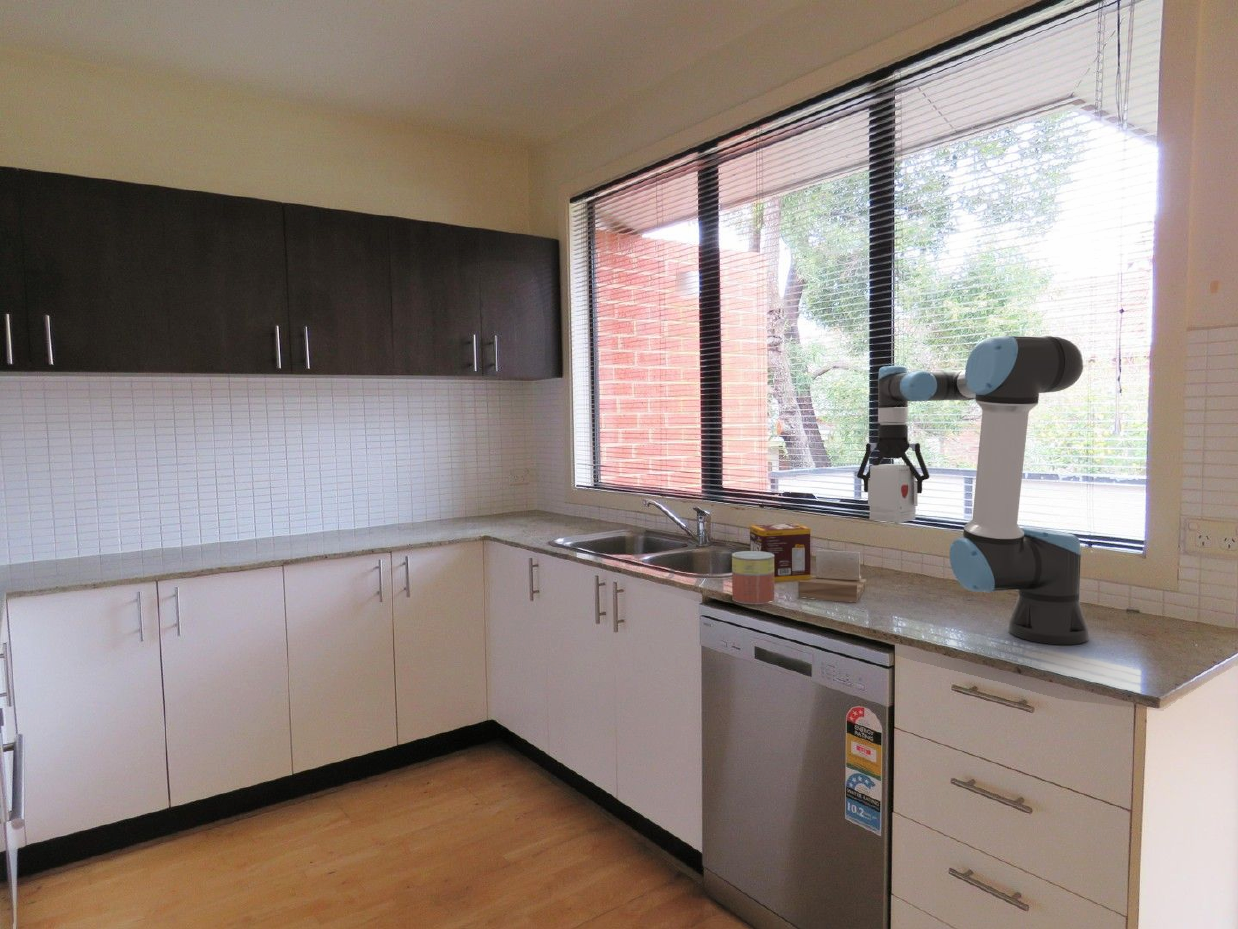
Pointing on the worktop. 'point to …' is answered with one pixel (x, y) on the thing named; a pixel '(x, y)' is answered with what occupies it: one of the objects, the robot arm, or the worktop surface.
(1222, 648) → the worktop surface
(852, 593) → the shelf board
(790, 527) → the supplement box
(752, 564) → the canned food
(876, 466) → the supplement box
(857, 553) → the bookend
